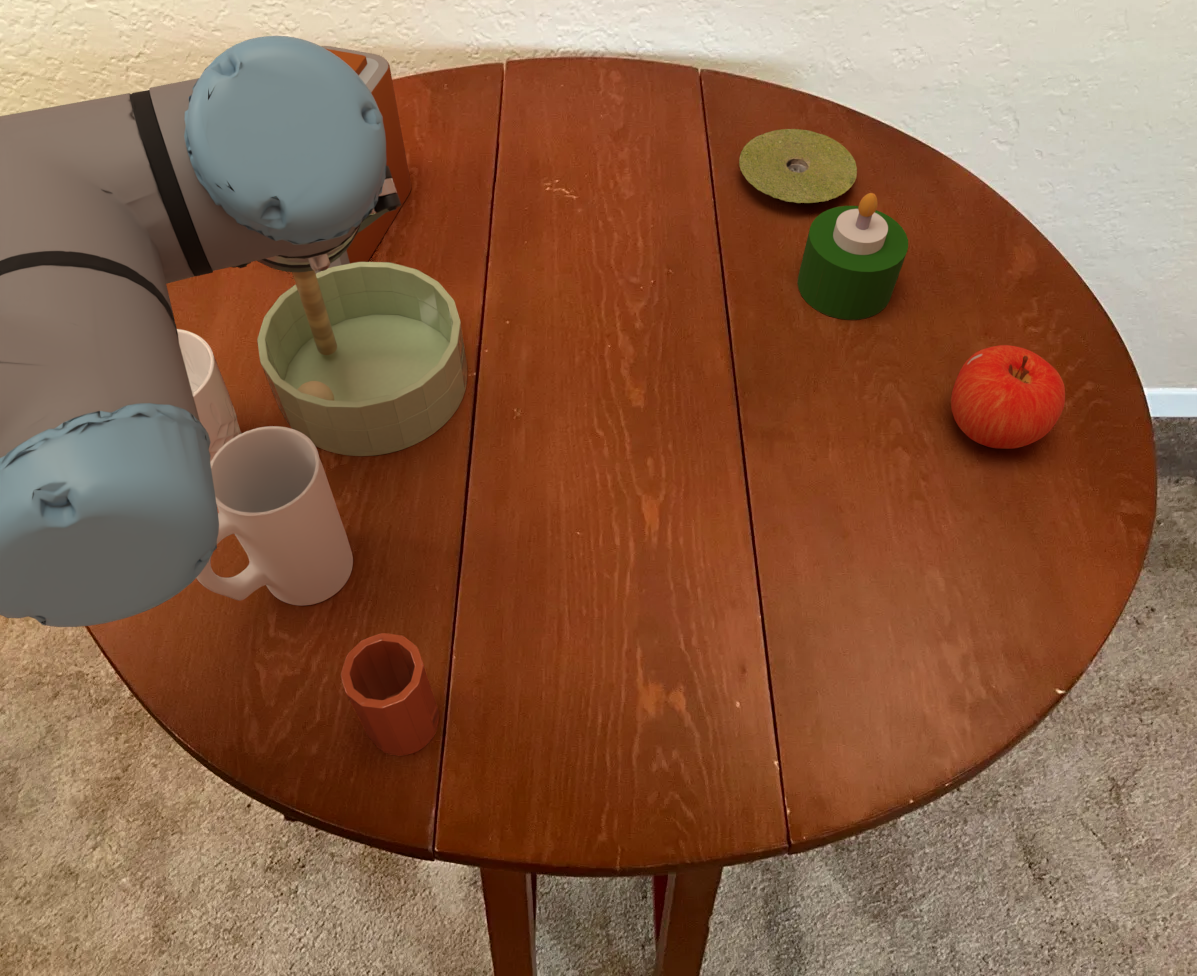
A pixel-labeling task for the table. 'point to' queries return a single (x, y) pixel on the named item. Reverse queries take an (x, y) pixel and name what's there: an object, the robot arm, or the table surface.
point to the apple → (1007, 397)
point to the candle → (852, 260)
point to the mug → (278, 518)
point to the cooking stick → (315, 311)
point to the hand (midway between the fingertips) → (292, 244)
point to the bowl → (368, 359)
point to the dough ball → (317, 390)
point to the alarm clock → (381, 87)
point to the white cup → (208, 391)
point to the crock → (391, 693)
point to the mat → (798, 166)
